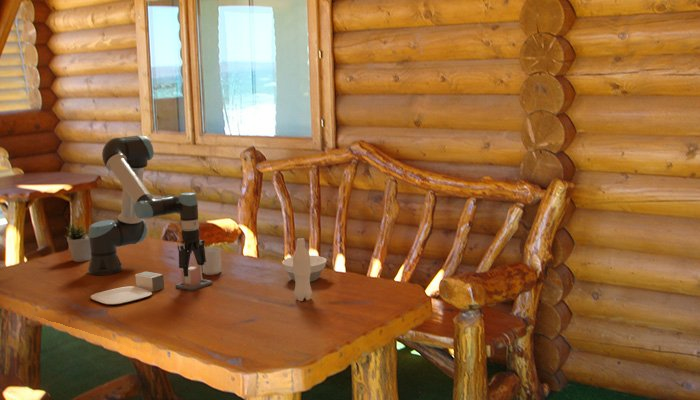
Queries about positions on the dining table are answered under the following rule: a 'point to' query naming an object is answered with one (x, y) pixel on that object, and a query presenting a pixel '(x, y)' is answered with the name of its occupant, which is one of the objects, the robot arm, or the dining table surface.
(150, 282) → the grey-panelled beige block
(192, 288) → the stub tray
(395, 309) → the dining table surface
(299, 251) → the water bottle
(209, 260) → the mug
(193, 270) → the stub
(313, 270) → the bowl
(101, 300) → the plate
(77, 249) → the potted plant
